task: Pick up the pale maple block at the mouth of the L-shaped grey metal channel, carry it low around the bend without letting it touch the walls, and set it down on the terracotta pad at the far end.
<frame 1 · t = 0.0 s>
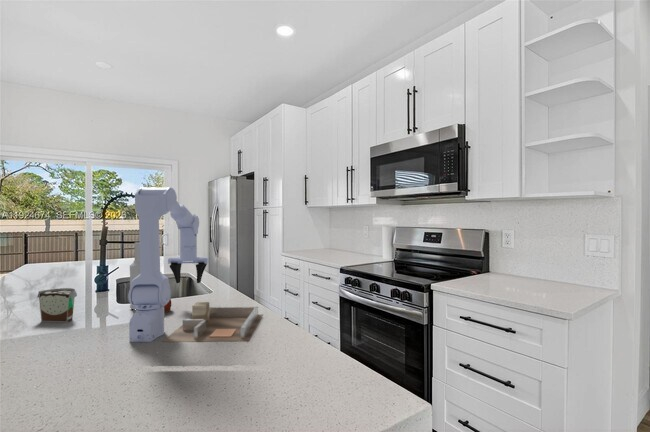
hand: (188, 282, 123), 10 cm above the countertop, tool pointing down, fingers open, 7 cm apart
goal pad: (223, 333, 96), resting on walnut board
bottle: (137, 309, 125), on the countertop
walnut board: (232, 325, 106), on the countertop
fruit: (159, 315, 117), on the countertop
channel walls: (219, 321, 102), on the walnut board, point 2 cm above the countertop
maple block: (201, 322, 106), point 1 cm above the countertop, touching walnut board
food container: (62, 319, 113), on the countertop
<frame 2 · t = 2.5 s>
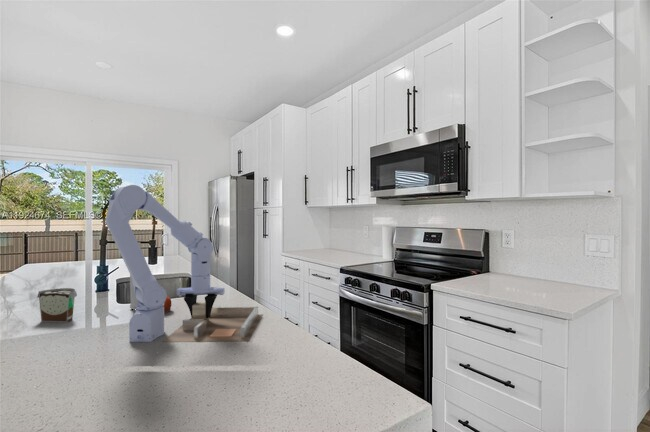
hand: (201, 317, 106), 3 cm above the countertop, tool pointing down, fingers closed on maple block, 4 cm apart
maple block: (201, 322, 106), point 1 cm above the countertop, touching gripper, walnut board
everything else where it was.
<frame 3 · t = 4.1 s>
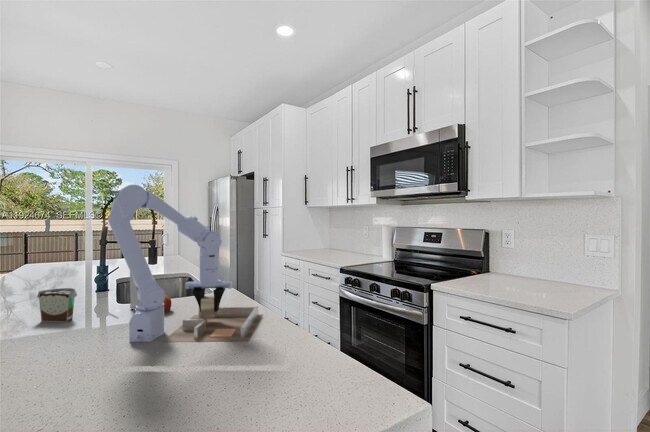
hand: (209, 310, 106), 5 cm above the countertop, tool pointing down, fingers closed on maple block, 4 cm apart
maple block: (209, 316, 106), point 3 cm above the countertop, touching gripper
everything else where it was.
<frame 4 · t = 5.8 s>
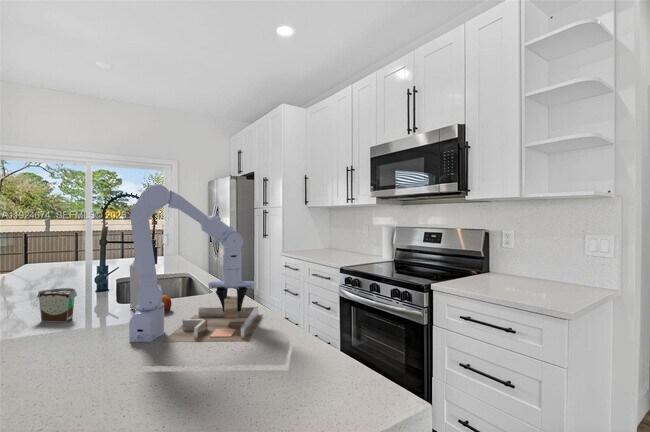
hand: (232, 310, 106), 5 cm above the countertop, tool pointing down, fingers closed on maple block, 4 cm apart
maple block: (232, 316, 106), point 3 cm above the countertop, touching gripper
everything else where it was.
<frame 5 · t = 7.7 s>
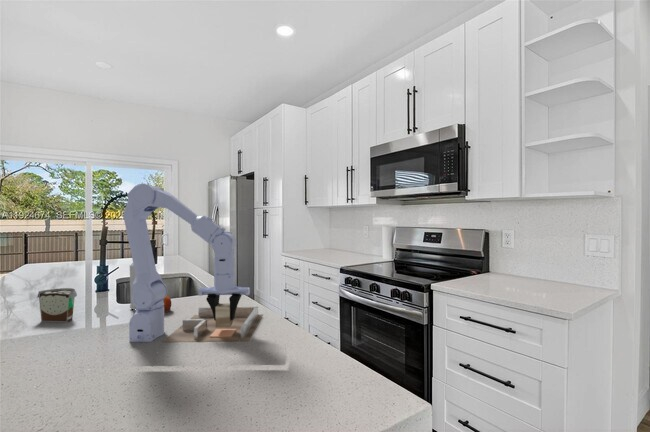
hand: (224, 319, 97), 5 cm above the countertop, tool pointing down, fingers closed on maple block, 4 cm apart
maple block: (224, 325, 97), point 3 cm above the countertop, touching gripper
everything else where it was.
when the fingers open (4 cm above the countertop, at t = 9.4 s): maple block drops 1 cm, resting on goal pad.
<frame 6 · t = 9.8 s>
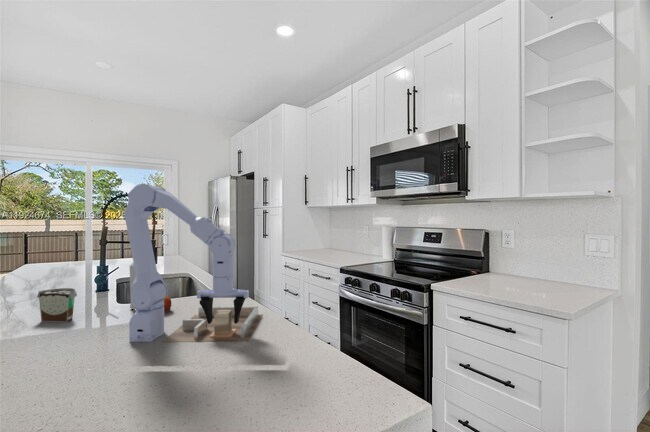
hand: (223, 322, 96), 4 cm above the countertop, tool pointing down, fingers open, 7 cm apart
maple block: (223, 332, 96), point 1 cm above the countertop, touching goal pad
everything else where it was.
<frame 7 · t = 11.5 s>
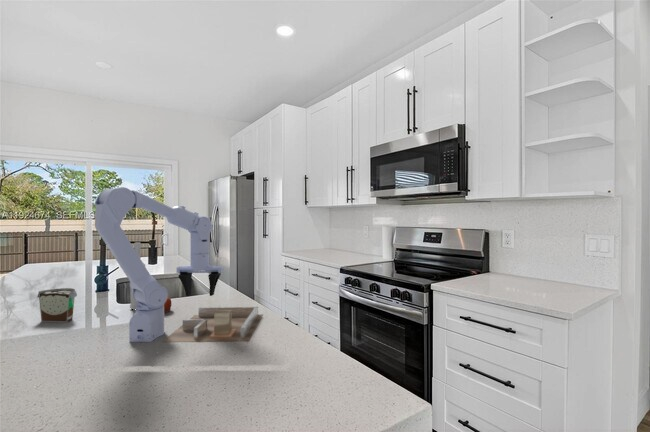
hand: (200, 295, 107), 9 cm above the countertop, tool pointing down, fingers open, 7 cm apart
nothing on the countertop moved.
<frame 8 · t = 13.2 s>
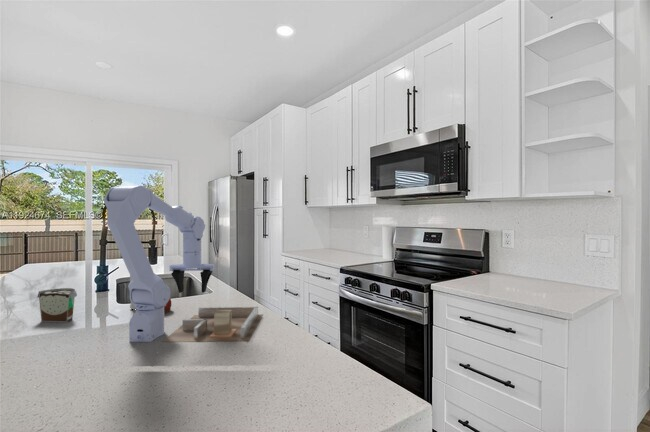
hand: (192, 292, 111), 9 cm above the countertop, tool pointing down, fingers open, 7 cm apart
nothing on the countertop moved.
at the end: maple block 0.0 cm from the target spot, point 1.3 cm above the countertop; maple block tilted 0°; maple block touching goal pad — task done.
